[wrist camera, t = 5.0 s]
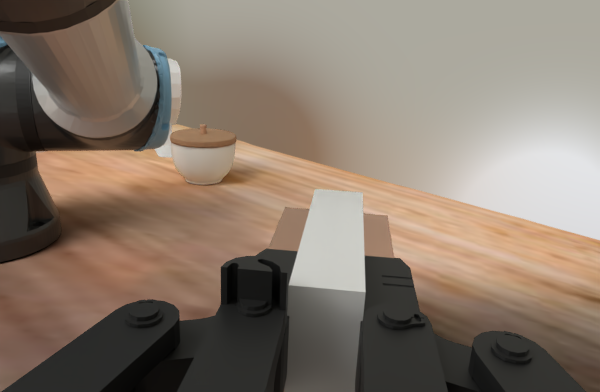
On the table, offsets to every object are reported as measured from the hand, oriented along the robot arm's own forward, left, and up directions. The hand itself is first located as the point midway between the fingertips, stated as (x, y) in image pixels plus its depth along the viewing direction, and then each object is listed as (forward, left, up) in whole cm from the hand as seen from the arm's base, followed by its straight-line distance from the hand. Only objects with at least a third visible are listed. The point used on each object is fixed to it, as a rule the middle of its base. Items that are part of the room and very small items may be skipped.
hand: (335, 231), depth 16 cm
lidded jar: (+24, +65, -19) cm, 72 cm away
